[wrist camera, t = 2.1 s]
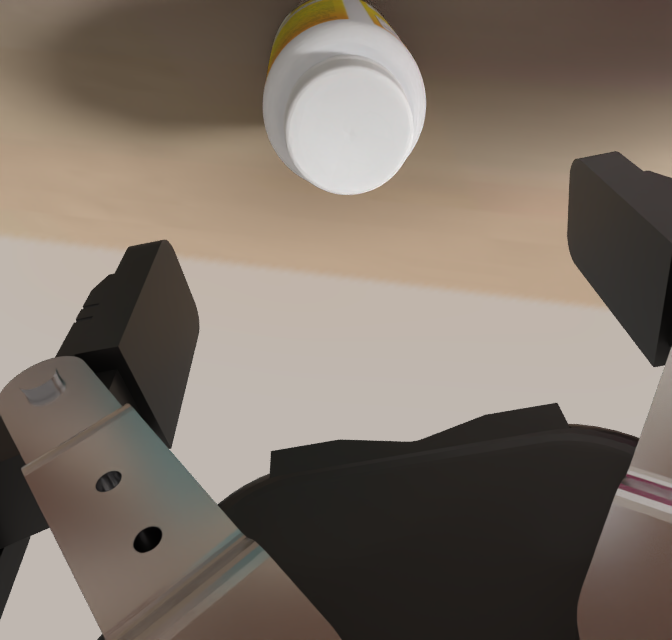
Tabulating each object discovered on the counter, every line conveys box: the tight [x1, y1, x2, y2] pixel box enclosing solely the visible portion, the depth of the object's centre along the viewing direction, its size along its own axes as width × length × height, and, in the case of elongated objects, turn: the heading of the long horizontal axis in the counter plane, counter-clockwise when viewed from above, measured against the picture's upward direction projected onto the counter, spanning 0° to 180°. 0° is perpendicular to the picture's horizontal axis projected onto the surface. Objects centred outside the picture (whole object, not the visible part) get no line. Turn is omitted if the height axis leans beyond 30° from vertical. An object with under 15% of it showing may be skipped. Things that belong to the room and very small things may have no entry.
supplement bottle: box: [263, 0, 426, 195], centre depth 22 cm, size 6×6×10 cm
